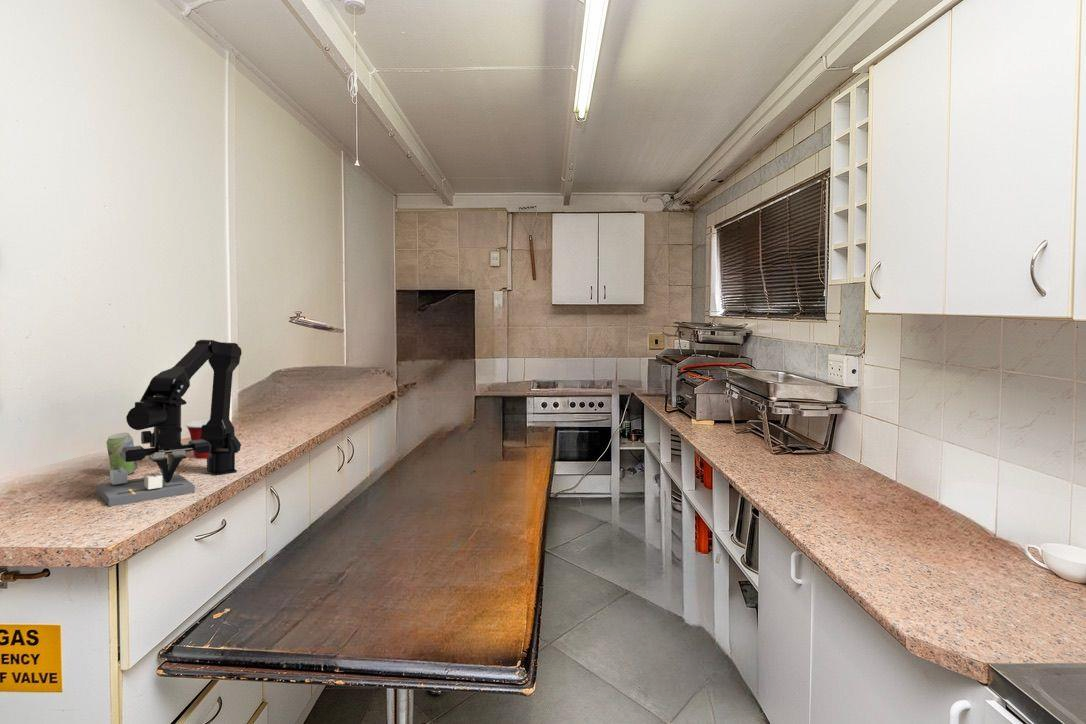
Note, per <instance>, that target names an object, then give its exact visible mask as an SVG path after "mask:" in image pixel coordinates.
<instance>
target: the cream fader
mask: <svg viewBox="0 0 1086 724" xmlns="http://www.w3.org/2000/svg"><path fill="white" fill-rule="evenodd" d="M143 478H144V486H145V487H146V488H147V489H155V488H161V487H162V473H161V474H160V473H159V472H154V473H153V472H151V473H145V474H144V477H143Z"/></svg>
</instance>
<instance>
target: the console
mask: <svg viewBox="0 0 1086 724" xmlns="http://www.w3.org/2000/svg"><path fill="white" fill-rule="evenodd" d="M161 475H162V474H161ZM195 487H196V486H195V484H194V483H192V482H191V481H190V480H188V479H186V477H184V476H182V475H181V474H180V473H178V472H174V474H173V476H172V479H171V481H170V482H169V483H166V482H165V480H164V478H163V475H162V487H161V488H155V489H147V488H146V487H145V486H144V477H139V478H133V479H127V483H122V484H115V485H113V484H112V483H111V482H110V481H109V482H104V483H97V484H96V493H98V495H99V496H100V497H101V499H103V501H104V502H105V504H107V506H108V507H110V508H111V507H115V506H121V505H128V504H135V503H139V502H145V501H153V500H158V499H163V498H164V497H165V498H170V497H169V496H171V497H175V496H174V495H177V496H181V495H180V494H183V495H187V494H186V493H189V494H192V493H191V492H195V491H196V490H195V489H196V488H195Z"/></svg>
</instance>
